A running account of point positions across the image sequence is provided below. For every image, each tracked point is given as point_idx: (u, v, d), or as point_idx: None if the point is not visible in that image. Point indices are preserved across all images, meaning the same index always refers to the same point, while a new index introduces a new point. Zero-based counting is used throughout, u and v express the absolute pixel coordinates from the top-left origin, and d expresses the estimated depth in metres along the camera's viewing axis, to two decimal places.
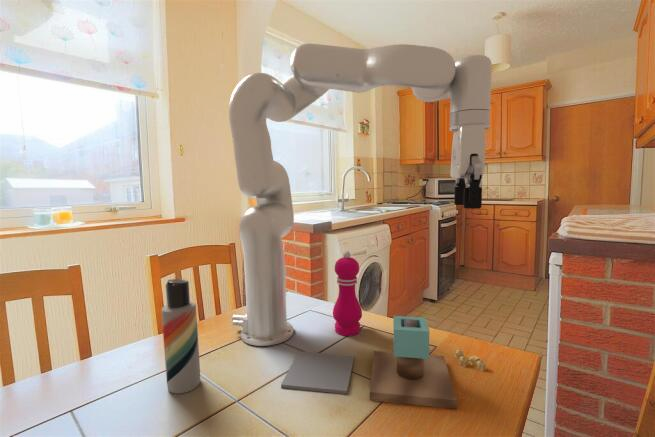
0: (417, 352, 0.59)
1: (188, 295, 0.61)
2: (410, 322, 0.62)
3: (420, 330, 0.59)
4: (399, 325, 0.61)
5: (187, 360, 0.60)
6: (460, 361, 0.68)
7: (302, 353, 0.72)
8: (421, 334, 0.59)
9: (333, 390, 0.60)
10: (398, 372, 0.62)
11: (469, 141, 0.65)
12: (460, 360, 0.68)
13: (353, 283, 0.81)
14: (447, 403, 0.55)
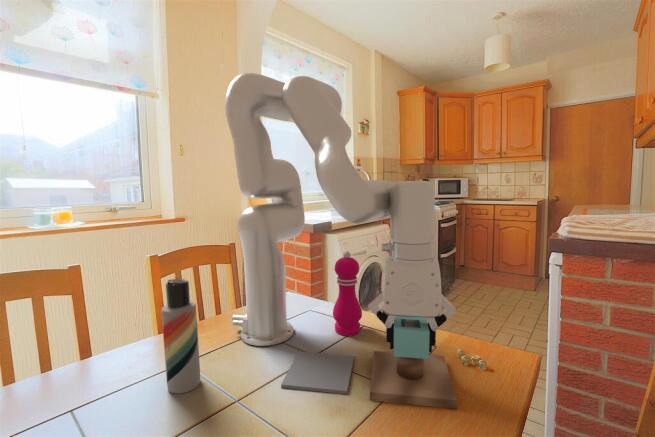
0: (417, 352, 0.59)
1: (188, 295, 0.61)
2: (410, 322, 0.62)
3: (420, 330, 0.59)
4: (399, 325, 0.61)
5: (187, 360, 0.60)
6: (462, 360, 0.68)
7: (302, 353, 0.72)
8: (421, 334, 0.59)
9: (333, 390, 0.60)
10: (398, 372, 0.62)
11: (440, 276, 0.59)
12: (462, 359, 0.68)
13: (353, 283, 0.81)
14: (447, 403, 0.55)
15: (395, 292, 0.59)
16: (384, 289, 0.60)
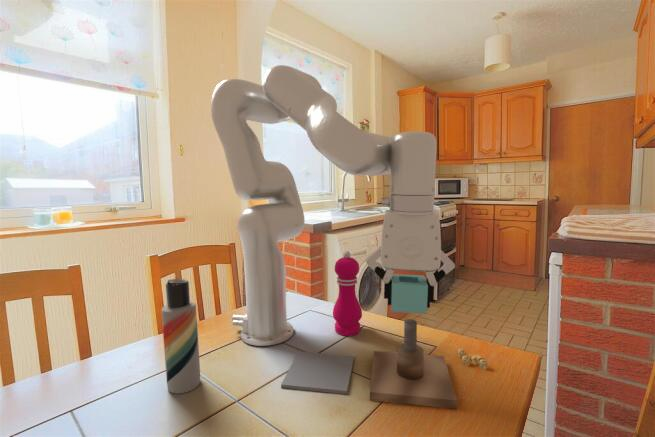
0: (415, 307, 0.59)
1: (188, 295, 0.61)
2: (410, 322, 0.62)
3: (418, 284, 0.58)
4: (397, 281, 0.60)
5: (187, 360, 0.60)
6: (463, 360, 0.68)
7: (302, 353, 0.72)
8: (419, 288, 0.58)
9: (333, 390, 0.60)
10: (398, 372, 0.62)
11: None
12: (463, 359, 0.68)
13: (353, 283, 0.81)
14: (447, 403, 0.55)
15: (394, 245, 0.58)
16: (383, 243, 0.59)
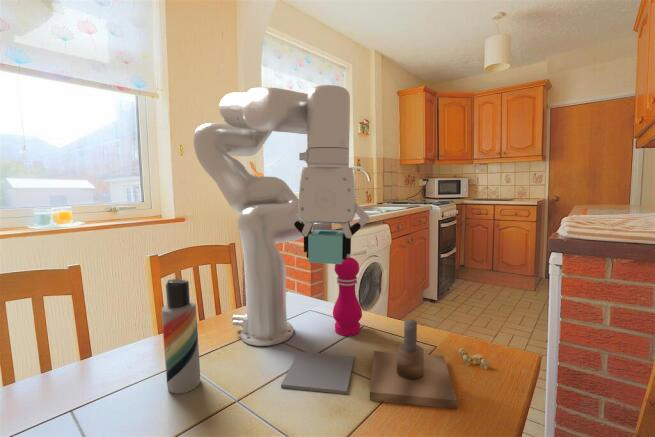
0: (330, 257, 0.61)
1: (188, 295, 0.61)
2: (410, 322, 0.62)
3: (333, 236, 0.60)
4: (315, 233, 0.62)
5: (187, 360, 0.60)
6: (464, 360, 0.68)
7: (302, 353, 0.72)
8: (334, 239, 0.60)
9: (333, 390, 0.60)
10: (398, 372, 0.62)
11: (354, 183, 0.60)
12: (464, 359, 0.68)
13: (353, 283, 0.81)
14: (447, 403, 0.55)
15: (309, 198, 0.60)
16: (299, 196, 0.60)
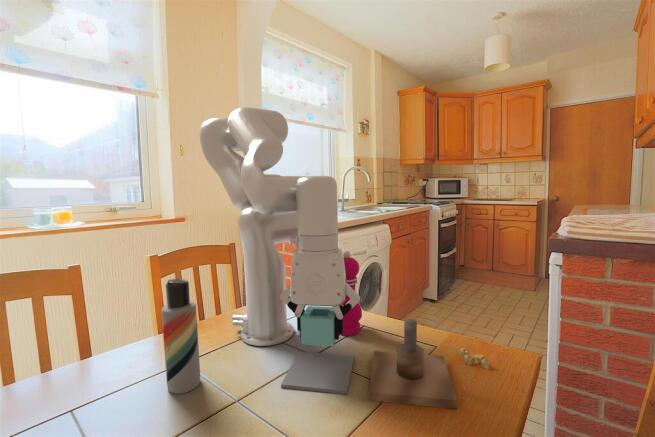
0: (322, 339, 0.62)
1: (188, 295, 0.61)
2: (410, 322, 0.62)
3: (325, 318, 0.62)
4: (307, 314, 0.64)
5: (187, 360, 0.60)
6: (465, 359, 0.69)
7: (302, 353, 0.72)
8: (325, 322, 0.61)
9: (333, 390, 0.60)
10: (398, 372, 0.62)
11: (343, 267, 0.62)
12: (465, 359, 0.69)
13: (353, 283, 0.81)
14: (447, 403, 0.55)
15: (300, 282, 0.62)
16: (291, 279, 0.62)
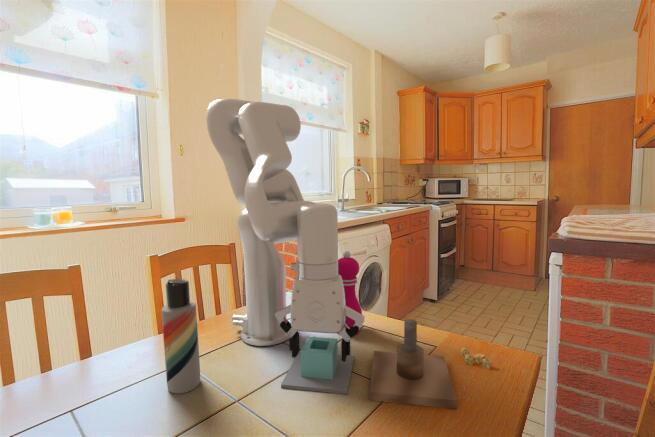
0: (322, 373, 0.63)
1: (188, 295, 0.61)
2: (410, 322, 0.62)
3: (324, 352, 0.63)
4: (307, 347, 0.65)
5: (187, 360, 0.60)
6: (466, 359, 0.69)
7: None
8: (325, 356, 0.62)
9: (333, 390, 0.60)
10: (398, 372, 0.62)
11: (343, 294, 0.63)
12: (466, 358, 0.69)
13: (353, 283, 0.81)
14: (447, 403, 0.55)
15: (301, 309, 0.63)
16: (291, 306, 0.63)
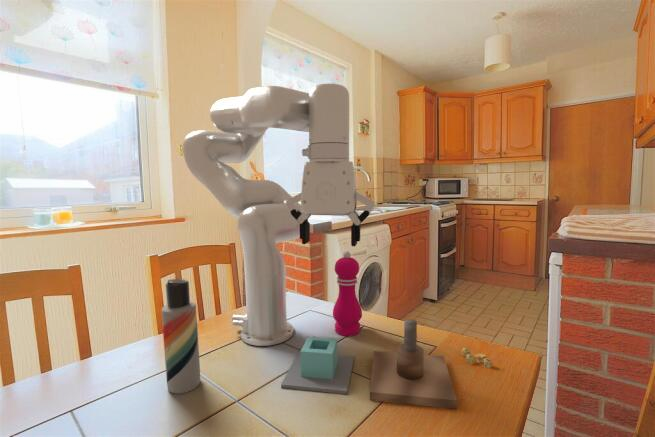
0: (322, 373, 0.63)
1: (188, 295, 0.61)
2: (410, 322, 0.62)
3: (324, 352, 0.63)
4: (307, 347, 0.65)
5: (187, 360, 0.60)
6: (467, 359, 0.69)
7: None
8: (325, 356, 0.62)
9: (333, 390, 0.60)
10: (398, 372, 0.62)
11: (354, 177, 0.63)
12: (467, 358, 0.69)
13: (353, 283, 0.81)
14: (447, 403, 0.55)
15: (311, 191, 0.63)
16: (302, 189, 0.64)
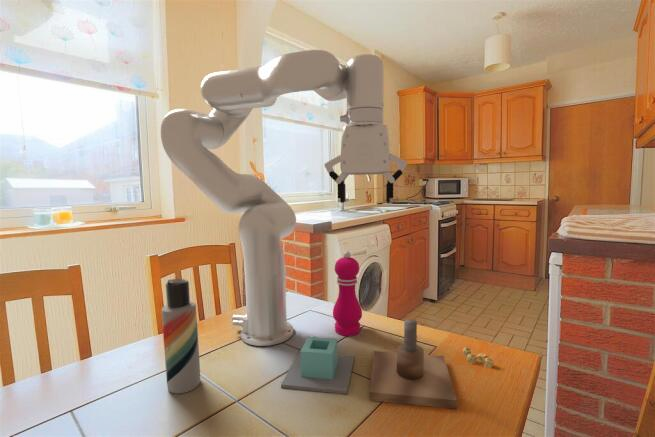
0: (322, 373, 0.63)
1: (188, 295, 0.61)
2: (410, 322, 0.62)
3: (324, 352, 0.63)
4: (307, 347, 0.65)
5: (187, 360, 0.60)
6: (468, 359, 0.69)
7: None
8: (325, 356, 0.62)
9: (333, 390, 0.60)
10: (398, 372, 0.62)
11: (388, 139, 0.70)
12: (468, 358, 0.69)
13: (353, 283, 0.81)
14: (447, 403, 0.55)
15: (350, 152, 0.70)
16: (341, 151, 0.70)
